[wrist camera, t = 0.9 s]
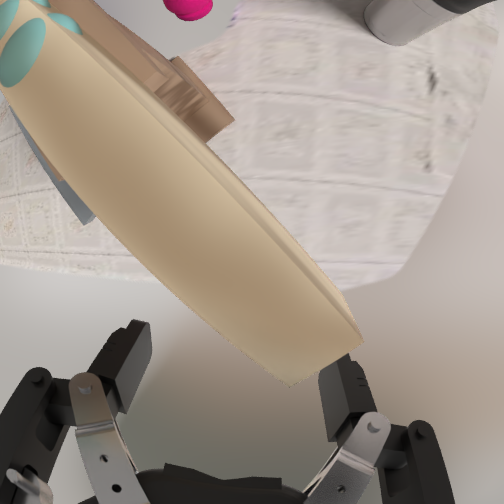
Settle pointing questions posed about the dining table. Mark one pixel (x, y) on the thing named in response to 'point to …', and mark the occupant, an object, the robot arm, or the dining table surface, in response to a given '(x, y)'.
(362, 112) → the dining table surface
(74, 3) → the tall stand
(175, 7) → the pepper mill
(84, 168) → the teal-dotted wooden beam
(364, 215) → the dining table surface
